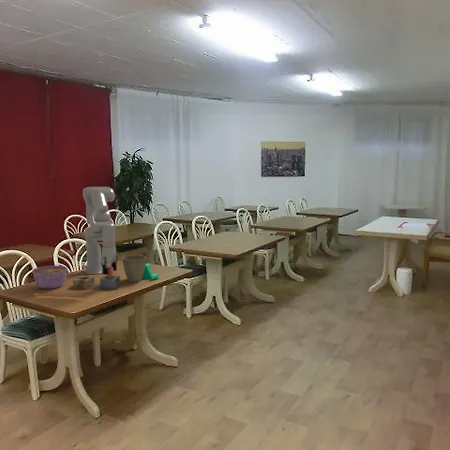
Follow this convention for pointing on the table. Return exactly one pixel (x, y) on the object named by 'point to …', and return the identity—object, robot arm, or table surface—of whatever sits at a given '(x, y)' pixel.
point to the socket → (109, 282)
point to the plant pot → (134, 267)
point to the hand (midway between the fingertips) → (109, 272)
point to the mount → (84, 282)
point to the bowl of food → (49, 276)
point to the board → (97, 287)
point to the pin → (110, 273)
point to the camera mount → (148, 273)
